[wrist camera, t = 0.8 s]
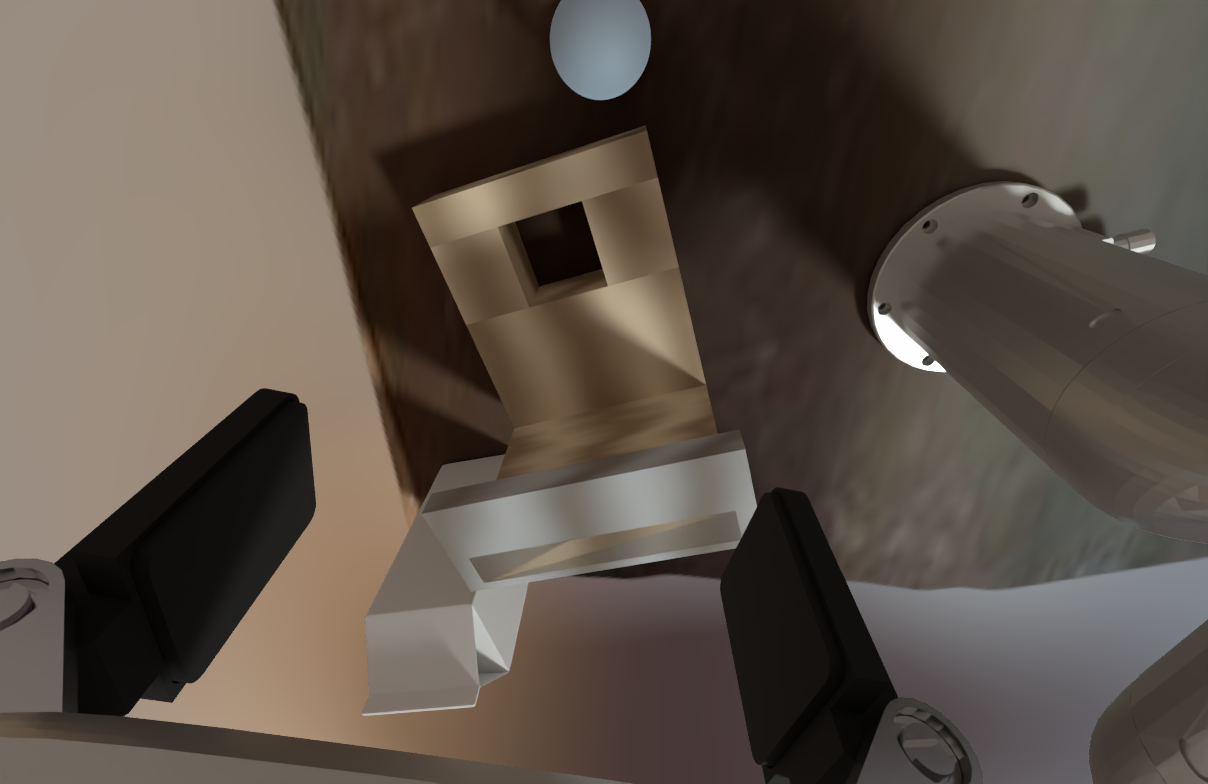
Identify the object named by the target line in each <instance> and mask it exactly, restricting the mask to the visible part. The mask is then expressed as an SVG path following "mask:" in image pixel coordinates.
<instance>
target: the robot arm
mask: <svg viewBox="0 0 1208 784" xmlns="http://www.w3.org/2000/svg"><path fill="white" fill-rule="evenodd" d="M926 221H927V223H926V225H925V226H924V227H923V225H924V223H925V222H926ZM1154 246H1155V236H1154V234H1153V232H1152V231H1150V230H1149V229H1141V230H1137V231H1132V232H1128V233H1124V234H1120V235H1117V236H1116V237H1113V238H1110V237H1107V236H1104V235H1101V234H1098V233H1095V232H1092V231H1088V230H1085V229H1082V226H1081V222H1080V220H1079V219H1078V217H1077V215H1076V214H1075V212H1074V210H1073V209H1072V207H1071V206H1070V205H1069V204H1067V203H1066V202H1065V201H1064V200H1063V199H1062V198H1061V197H1060V196H1058V195H1056V194H1054V193H1052V192H1050V191H1048V190H1046V189H1044V188H1042V187H1038V186H1034V185H1031V184H1027V183H1021V182H1011V181H996V182H986V183H980V184H977V185H973V186H969V187H966V188H962V189H960V190H957V191H955V192H953V193H951V194H948V195H946V196H944V197H942V198H940V199H938V200H937V201H935V202H934V203H932V204H930V205H929V206H927V207H926V208H924V209H923V210H921V211H920V212H919V213H917V214H916V215H915V216H914V217H913V218H912V219H911V220H909V221H908V222H907V223H906V224H905V225H904V226H903V227H902V228H901V229H900V230H899V231H898V233H897V234H896V235H895V236H894V237H893V238H892V239H891V241H890V242H889V243H888V245H887V246H886V248H885V250H884V251H883V253H882V254H881V256H880V258H879V259H878V261H877V264H876V266H875V269H874V271H873V273H872V276H871V279H870V284H869V289H868V293H867V312H868V317H869V321H870V326H871V328H872V330H873V332H874V334H875V335H876V337H877V339H878V340H879V341H880V343H881V344H882V345H883V346H884V347H885V348H886V350H888V351H889V352H890V353H891V354H892V355H893V356H894V357H895V358H897V359H898V360H900V361H902V362H904V363H905V364H907V365H909V366H912V367H915V368H918V369H921V370H925V371H934V372H947V373H948V374H949V375H950V376H952V377H953V378H954V379H955V380H956V381H957V382H958V383H959V384H960V385H961V386H962V387H963V388H965V389H966V390H967V391H968V392H969V393H970V394H971V395H972V396H973V397H974V398H975V399H976V400H977V401H979V402H980V403H981V404H982V405H983V406H984V407H985V408H986V409H987V410H988V411H989V412H990V413H992V414H993V415H994V416H995V417H996V418H997V419H998V420H999V421H1000V422H1001V423H1002V424H1003V425H1005V426H1006V427H1007V428H1008V429H1009V430H1010V431H1011V432H1012V433H1013V434H1014V435H1015V436H1016V437H1018V438H1019V439H1020V440H1021V441H1022V442H1023V443H1024V444H1025V445H1026V446H1027V447H1028V448H1029V449H1030V450H1032V451H1033V452H1034V453H1035V454H1036V455H1037V456H1038V457H1039V458H1040V459H1041V460H1042V461H1043V462H1045V463H1046V464H1047V465H1048V466H1049V467H1050V468H1051V469H1052V470H1053V471H1054V472H1055V473H1056V474H1058V475H1059V476H1060V477H1061V478H1062V479H1063V480H1064V481H1066V482H1067V483H1068V484H1069V485H1070V486H1071V487H1072V488H1073V489H1074V490H1075V491H1076V492H1078V493H1079V494H1080V495H1081V496H1082V497H1084V498H1085V499H1086V500H1087V501H1089V502H1090V503H1091V504H1093V505H1094V506H1095V507H1096V508H1098V509H1100V510H1101V511H1103V512H1104V513H1106V514H1108V515H1109V516H1111V517H1113V518H1115V519H1117V520H1119V521H1121V522H1124V523H1126V524H1128V525H1130V526H1133V527H1135V528H1138V529H1141V530H1144V531H1148V532H1151V533H1154V534H1158V535H1162V536H1165V537H1170V538H1175V539H1180V540H1186V541H1193V542H1200V543H1207V544H1208V276H1207V275H1204V274H1201V273H1198V272H1195V271H1192V270H1189V269H1186V268H1183V267H1180V266H1177V265H1174V264H1171V263H1168V262H1165V261H1163V260H1159V259H1156V258H1153V257H1150V256H1147V255H1144V254H1142V253H1146V252H1149V251H1151V250H1152V249H1153V248H1154ZM881 304H882V305H881ZM880 305H881V306H880ZM879 306H880V307H879ZM314 489H315V488H314V477H313V467H312V455H311V445H310V434H309V423H308V412H307V407H306V405H305V404H303V403H299V399H298V397H297V396H296V395H295V394H292V393H286V392H281V391H276V390H271V389H260V390H259V391H257V392H255V393H254V394H253V395H252V396H251V397H250V398H248V399H247V400H246V401H245V402H244V403H243V404H241V405H240V406H239V407H238V408H237V409H235V410H234V411H233V412H232V413H231V414H230V415H228V416H227V417H226V418H225V419H224V420H223V421H221V422H220V423H219V424H218V425H217V426H215V427H214V428H213V429H212V430H211V431H210V432H208V433H207V434H206V435H205V436H204V437H203V438H201V439H200V440H199V441H198V442H197V443H195V445H193V446H192V447H191V448H190V449H188V450H187V451H186V452H185V453H184V454H182V455H181V456H180V457H179V458H178V459H177V460H175V461H174V462H173V463H172V464H171V465H169V466H168V467H167V468H166V469H165V470H164V471H162V472H161V473H160V474H159V475H158V476H156V477H155V478H154V479H153V480H152V481H151V482H149V483H148V484H147V485H146V486H145V487H144V488H142V489H141V490H140V491H139V492H138V493H137V494H135V495H134V496H133V497H132V498H131V499H130V500H128V501H127V502H126V503H125V504H124V505H122V506H121V507H120V508H119V509H118V510H117V511H115V512H114V513H113V514H112V515H111V516H109V517H108V518H107V519H106V520H105V521H104V522H102V523H101V524H100V525H99V526H98V527H97V528H95V529H94V530H93V531H92V532H91V533H90V534H88V535H87V536H86V537H85V538H84V539H82V540H81V541H80V542H79V543H78V544H77V545H76V546H74V547H73V548H72V549H71V550H70V551H68V552H67V553H66V554H65V555H64V556H63V557H61V558H60V559H59V560H58V561H57V562H55V563H54V564H53V563H52V562H48V561H43V560H39V559H12V560H7V561H1V562H0V784H632V783H626V782H619V781H611V780H605V779H598V778H590V777H584V776H576V775H569V774H562V773H555V772H548V771H540V770H533V769H526V768H519V767H510V766H504V765H497V764H489V763H482V762H475V761H468V760H460V759H453V758H444V757H438V756H431V755H423V754H416V753H409V752H401V751H394V750H386V749H379V748H371V747H364V746H356V745H348V744H341V743H333V742H326V741H318V740H310V739H303V738H295V737H287V736H280V735H272V734H264V733H256V732H249V731H242V730H234V729H227V728H218V727H208V726H200V725H192V724H183V723H174V722H164V721H156V720H147V719H139V718H130V717H125V715H126V714H128V713H129V712H130V711H131V710H132V708H133V707H134V706H135V704H136V703H137V702H138V701H139V699H140V698H142V699H149V700H156V701H163V702H171V703H172V702H173V701H174V699H175V698H176V697H177V695H178V694H179V692H180V691H181V690H182V688H183V687H184V685H185V684H186V683H193V682H195V681H196V680H198V679H199V678H200V677H201V676H202V674H203V673H204V672H205V671H206V669H207V668H208V666H209V665H210V663H211V662H212V661H213V659H214V658H215V656H216V655H217V653H218V652H219V651H220V649H221V648H222V646H223V645H224V644H225V642H226V641H227V639H228V638H229V636H230V635H231V634H232V632H233V631H234V629H235V628H236V627H237V625H238V624H239V622H240V620H241V619H242V618H243V617H244V615H245V614H246V612H247V611H248V609H249V608H250V607H251V605H252V604H253V602H254V601H255V600H256V598H257V597H258V595H259V594H260V592H261V591H262V590H263V588H264V587H265V585H266V584H267V583H268V581H269V580H270V578H271V577H272V575H273V574H274V573H275V571H276V570H277V568H278V567H279V566H280V564H281V563H282V561H283V560H284V558H285V557H286V556H287V554H288V553H289V551H290V550H291V549H292V547H293V546H294V544H295V543H296V541H297V540H298V538H299V537H300V536H301V534H302V533H303V531H304V530H305V529H306V527H307V526H308V524H309V523H310V521H311V520H312V517H313V515H314V512H315V508H316V499H315V490H314ZM720 591H721V597H722V602H723V607H724V612H725V618H726V622H727V628H728V633H729V638H730V643H731V648H732V654H733V659H734V664H735V669H736V674H737V679H738V684H739V689H740V695H741V700H742V705H743V710H744V715H745V720H746V725H747V730H748V736H749V741H750V746H751V751H752V755H753V758H754V760H755V762H756V763H757V764H759V765H762V768H763V773H764V778H765V783H766V784H983V773H982V769H981V766H980V763H979V761H978V758H977V755H976V754H975V752H974V751H973V749H972V747H971V745H970V744H969V742H968V740H967V739H966V738H965V736H964V735H963V734H962V733H961V732H960V730H959V729H958V728H957V727H956V726H955V725H954V724H953V723H952V722H951V721H950V720H949V719H948V718H946V717H945V716H944V715H943V714H942V713H941V712H939V711H938V710H936V709H934V708H933V707H931V706H930V705H928V704H926V703H924V702H921V701H919V700H916V699H913V698H902V697H900V698H898V696H897V694H896V692H895V689H894V687H893V685H892V683H891V681H890V679H889V676H888V674H887V672H886V670H885V667H884V665H883V663H882V661H881V658H880V656H879V654H878V652H877V650H876V647H875V645H874V643H873V641H872V638H871V636H870V634H869V632H868V629H867V627H866V625H865V623H864V620H863V618H862V616H861V614H860V612H859V610H858V607H857V605H856V603H855V600H854V598H853V596H852V594H851V592H850V589H849V587H848V585H847V583H846V580H845V578H844V576H843V574H842V572H841V570H840V568H839V566H838V564H837V561H836V559H835V557H834V555H833V552H832V550H831V548H830V546H829V544H828V541H827V539H826V537H825V535H824V532H823V530H822V528H821V526H820V524H819V521H818V519H817V517H816V515H815V512H814V510H813V508H812V506H811V503H810V501H809V499H808V497H807V495H806V494H805V493H803V492H799V491H794V490H789V489H784V488H775V489H774V490H773V491H772V492H771V493H765V494H764V495H763V496H762V498H761V500H760V502H759V504H758V506H757V508H756V510H755V512H754V514H753V516H752V518H751V520H750V522H749V524H748V526H747V528H746V530H745V532H744V534H743V536H742V538H741V540H740V541H739V543H738V545H737V547H736V549H735V551H734V553H733V555H732V557H731V559H730V561H729V563H728V565H727V567H726V569H725V571H724V573H723V575H722V578H721V584H720ZM1089 766H1090V771H1091V776H1092V781H1093V784H1208V620H1207V621H1205V622H1204V623H1203V624H1202V625H1200V626H1199V627H1198V628H1197V629H1196V630H1194V631H1193V632H1192V633H1191V634H1189V635H1188V636H1187V637H1186V638H1185V639H1183V640H1182V641H1181V642H1180V643H1178V644H1177V645H1176V646H1175V647H1174V648H1172V649H1171V650H1170V651H1169V652H1167V653H1166V654H1165V655H1164V656H1162V657H1161V658H1160V659H1159V660H1158V661H1156V662H1155V663H1154V664H1153V665H1151V666H1150V667H1149V668H1148V669H1147V670H1145V671H1144V672H1143V673H1142V674H1140V676H1139V677H1138V678H1137V679H1136V680H1135V681H1133V682H1132V683H1131V684H1130V685H1129V686H1128V687H1126V688H1125V689H1124V690H1123V691H1122V692H1121V693H1120V694H1119V695H1118V696H1117V697H1116V698H1115V699H1114V700H1113V701H1112V702H1111V703H1110V704H1109V705H1108V706H1107V708H1106V709H1105V710H1104V712H1103V713H1102V714H1101V716H1100V717H1099V719H1098V720H1097V723H1096V725H1095V727H1094V730H1093V732H1092V734H1091V740H1090V746H1089Z"/></svg>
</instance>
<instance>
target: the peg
mask: <svg viewBox="0 0 1208 784" xmlns="http://www.w3.org/2000/svg"><path fill="white" fill-rule="evenodd" d="M650 48H651V30H650V24H649V20H648V17H647V14H646V11H645V9H644V7H643V5H642V3H641V2H640V0H561V1H560V3H559V5H558V7H557V9H556V11H555V13H554V16H553V19H552V24H551V29H550V49H551V54H552V59H553V62H554V65H555V67H556V69H557V71H558V73H559V75H560V76H561V78H562V80H563V81H564V82H565V83H566V84H567V85H568V86H569V87H570V88H571V89H572V90H573V91H575V92H576V93H577V94H579V95H581V96H583V97H586V98H589V99H594V100H608V99H612V98H615V97H617V96H620V95H622V94H623V93H625V92H626V91H628V90H629V89H630V88H631V87H632V86H633V85H634V84H635V83H636V82H637V81H638V79H639V78H640V76H641V75H642V73H643V71H644V69H645V67H646V64H647V61H648V58H649V54H650Z"/></svg>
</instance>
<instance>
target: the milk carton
mask: <svg viewBox="0 0 1208 784" xmlns="http://www.w3.org/2000/svg"><path fill="white" fill-rule="evenodd" d="M504 456H505V454H504V455H498V456H492V457H486V458H480V459H474V460H468V461H462V462H456V463H450V464H445V465H443V466H442V467H441V469H440V471H439V473H438V475H437V477H436V479H435V481H434V483H433V485H432V487H431V488H430V490H429V492H428V494H427V496H426V498H425V500H424V502H423V504H422V506H421V508H420V510H419V512H418V514H417V516H416V518H415V520H414V522H413V524H412V526H411V528H410V530H409V532H408V534H407V536H406V538H405V540H404V542H403V544H402V546H401V548H400V550H399V552H398V554H397V556H396V558H395V560H394V562H393V564H392V566H391V568H390V570H389V572H388V573H387V575H386V578H385V579H384V582H383V583H382V585H381V588H380V589H379V591H378V593H377V595H376V597H375V599H374V601H373V603H372V605H371V607H370V609H369V611H368V613H367V615H366V616H365V624H366V625H365V627H366V645H367V664H368V684H369V697H368V699H367V702H366V704H365V707H364V709H363V711H362V715H363V716H368V715H381V714H393V713H404V712H417V711H429V710H442V709H453V708H466V707H474V706H475V705H476V701H477V697H478V693H479V689H480V687H482V686H484V685H486V684H488V683H490V682H492V681H493V680H495V679H497V678H499V677H501V676H503V675H505V674H507V673H508V672H509V670H510V666H511V661H512V657H513V652H514V648H515V643H516V638H517V633H518V629H519V624H520V619H521V615H522V610H523V606H524V601H525V596H526V592H527V587H528V582H527V583H521V584H515V585H509V586H503V587H497V588H491V589H485V590H479V591H473V592H471V591H470V589H469V588H468V586H467V585H466V583H465V582H464V580H463V578H462V577H461V575H460V574H459V572H458V571H457V569H456V567H455V566H454V564H453V563H452V561H451V560H450V558H449V556H448V555H447V553H446V552H445V550H444V549H443V547H442V545H441V544H440V542H439V541H438V539H437V538H436V536H435V534H434V533H433V531H432V530H431V528H430V527H429V525H428V523H427V522H426V520H425V519H424V517H423V516H422V512H423V510H424V508H425V506H426V504H427V502H428V500H429V498H430V496H431V494H432V493H437V492H441V491H446V490H451V489H456V488H461V487H465V486H470V485H475V484H480V483H485V482H490V481H494V480H496V479H497V476H498V473H499V471H500V468H501V465H502V462H503V459H504Z"/></svg>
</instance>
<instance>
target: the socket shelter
mask: <svg viewBox="0 0 1208 784" xmlns="http://www.w3.org/2000/svg"><path fill="white" fill-rule="evenodd" d="M580 201H582V203H583V206H584V210H585V213H586V216H587V219H588V223H589V226H590V229H591V232H592V236H593V239H594V242H595V245H596V249H597V252H598V255H599V258H600V262H601V265H602V268H603V269H600V270H597V271H593V272H589V273H586V274H582V275H579V276H575V277H572V278H568V279H564V280H561V281H557V282H554V283H550V284H547V285H543V286H540V287H539V284H538V282H537V279H536V276H535V274H534V271H533V268H532V266H531V263H530V260H529V258H528V255H527V252H526V250H525V247H524V244H523V242H522V239H521V236H520V234H519V231H518V228H517V226H516V223H515V221H519V220H522V219H525V218H528V217H531V216H535V215H538V214H541V213H544V212H548V211H551V210H554V209H557V208H561V207H564V206H567V205H570V204H574V203H577V202H580ZM412 210H413V212H414V214H415V216H416V218H417V220H418V222H419V225H420V227H421V229H422V231H423V233H424V235H425V237H426V240H427V242H428V244H429V246H430V248H431V250H432V253H433V255H434V257H435V259H436V261H437V263H438V265H439V268H440V270H441V272H442V274H443V276H444V278H445V280H446V283H447V285H448V287H449V289H450V291H451V293H452V295H453V298H454V300H455V302H456V304H457V306H458V308H459V311H460V313H461V315H462V317H463V319H464V321H465V323H466V326H467V328H468V330H469V332H470V334H471V336H472V338H473V341H474V343H475V345H476V347H477V349H478V351H479V353H480V356H481V358H482V360H483V362H484V364H485V366H486V369H487V371H488V373H489V375H490V377H491V379H492V381H493V384H494V386H495V388H496V390H497V392H498V394H499V396H500V399H501V401H502V403H503V405H504V407H505V409H506V411H507V414H508V416H509V418H510V420H511V422H512V424H513V427H514V431H513V433H512V436H511V439H510V442H509V445H508V448H507V451H506V453H505V456H504V459H503V462H502V465H501V468H500V471H499V473H498V476H497V479H496V480H494V481H490V482H485V483H480V484H475V485H470V486H465V487H461V488H456V489H451V490H446V491H441V492H437V493H432V494H431V496H430V498H429V500H428V502H427V504H426V506H425V508H424V510H423V512H422V516H423V517H424V519H425V520H426V522H427V523H428V525H429V527H430V528H431V530H432V531H433V533H434V534H435V536H436V538H437V539H438V541H439V542H440V544H441V545H442V547H443V549H444V550H445V552H446V553H447V555H448V556H449V558H450V560H451V561H452V563H453V564H454V566H455V567H456V569H457V571H458V572H459V574H460V575H461V577H462V578H463V580H464V582H465V583H466V585H467V586H468V588H469V589H470V591H471V592H473V591H479V590H485V589H491V588H497V587H503V586H509V585H515V584H521V583H527V582H534V581H540V580H546V579H552V578H558V577H564V576H570V575H576V574H582V573H588V572H594V571H600V570H606V569H612V568H618V567H624V566H631V565H637V564H643V563H649V562H655V561H661V560H667V559H673V558H679V557H685V556H691V555H697V554H703V553H709V552H715V551H722V550H728V549H734V548H736V547H737V545H738V543H739V541H740V540H741V538H742V536H743V534H744V532H745V530H746V528H747V526H748V524H749V522H750V520H751V518H752V516H753V514H754V512H755V510H756V508H757V505H756V500H755V495H754V490H753V485H752V480H751V475H750V470H749V465H748V461H747V456H746V451H745V447H744V444H743V440H742V437H741V434H740V430H735V431H730V432H725V433H720V434H717V429H716V425H715V421H714V417H713V412H712V408H711V404H710V400H709V395H708V391H707V387H706V383H705V378H704V374H703V370H702V365H701V361H700V357H699V353H698V348H697V344H696V340H695V335H694V331H693V327H692V322H691V318H690V314H689V310H688V305H687V301H686V297H685V292H684V288H683V284H682V279H681V275H680V271H679V267H678V262H677V258H676V254H675V249H674V245H673V241H672V236H671V232H670V228H669V223H668V219H667V215H666V211H665V206H664V202H663V198H662V193H661V189H660V185H659V180H658V176H657V172H656V168H655V163H654V159H653V155H652V150H651V146H650V142H649V137H648V133H647V129H646V125H645V126H642V127H639V128H636V129H633V130H630V131H627V132H624V133H621V134H618V135H615V136H612V137H609V138H606V139H603V140H600V141H597V142H594V143H591V144H588V145H585V146H582V147H579V148H576V149H573V150H570V151H567V152H564V153H561V154H558V155H555V156H551V157H548V158H545V159H542V160H539V161H536V162H533V163H530V164H527V165H524V166H521V167H518V168H515V169H512V170H509V171H506V172H503V173H500V174H497V175H494V176H491V177H488V178H485V179H482V180H479V181H476V182H473V183H470V184H467V185H464V186H461V187H458V188H455V189H452V190H449V191H446V192H442V193H439V194H436V195H434V196H432V197H430V198H429V199H427V200H425V201H423V202H421V203H419V204H418V205H416V206H414V207H412Z"/></svg>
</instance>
